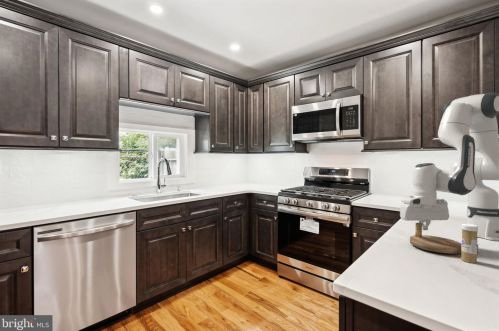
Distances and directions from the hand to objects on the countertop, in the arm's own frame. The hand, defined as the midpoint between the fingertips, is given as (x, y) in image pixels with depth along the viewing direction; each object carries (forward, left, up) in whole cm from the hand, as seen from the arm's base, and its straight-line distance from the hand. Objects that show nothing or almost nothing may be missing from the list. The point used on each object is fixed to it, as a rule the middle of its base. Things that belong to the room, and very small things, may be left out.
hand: (424, 229), depth 112 cm
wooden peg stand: (-2, +6, -6) cm, 9 cm away
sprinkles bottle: (-9, +18, -6) cm, 22 cm away
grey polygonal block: (-14, +6, -6) cm, 17 cm away
